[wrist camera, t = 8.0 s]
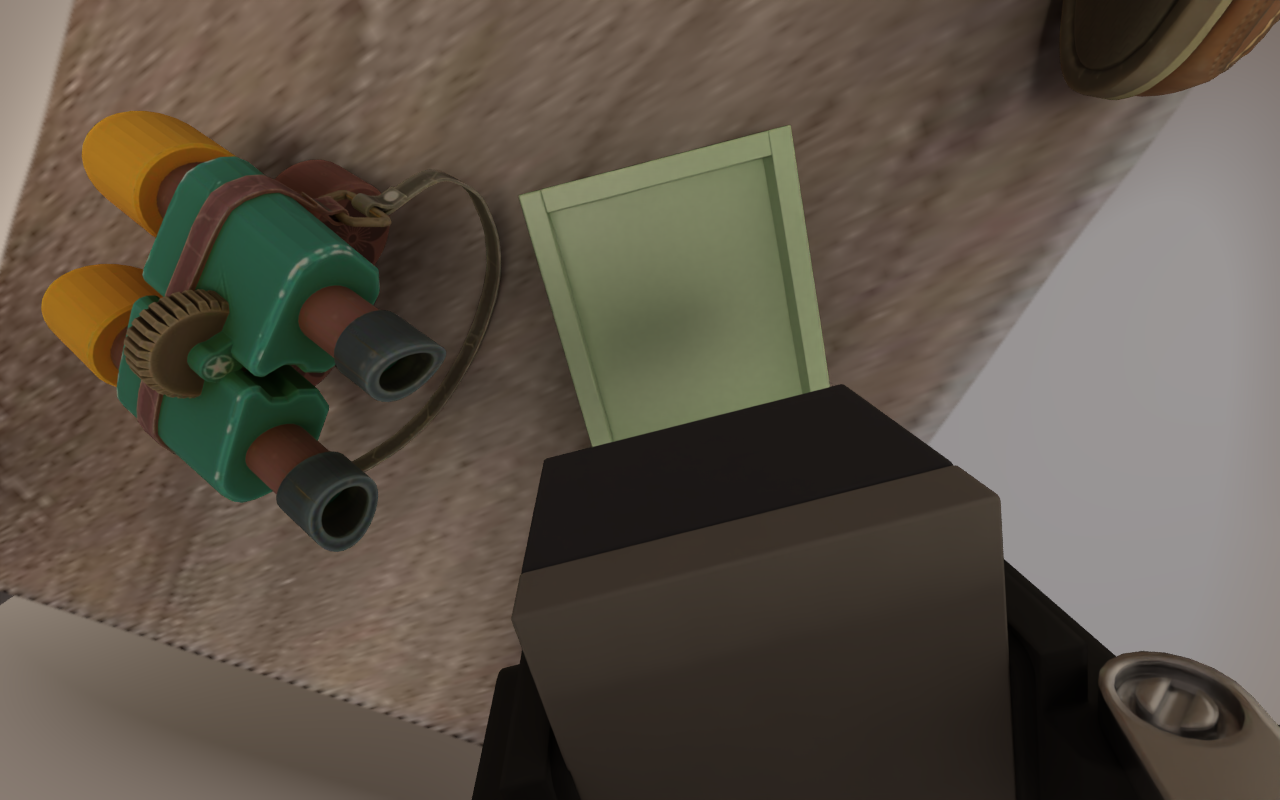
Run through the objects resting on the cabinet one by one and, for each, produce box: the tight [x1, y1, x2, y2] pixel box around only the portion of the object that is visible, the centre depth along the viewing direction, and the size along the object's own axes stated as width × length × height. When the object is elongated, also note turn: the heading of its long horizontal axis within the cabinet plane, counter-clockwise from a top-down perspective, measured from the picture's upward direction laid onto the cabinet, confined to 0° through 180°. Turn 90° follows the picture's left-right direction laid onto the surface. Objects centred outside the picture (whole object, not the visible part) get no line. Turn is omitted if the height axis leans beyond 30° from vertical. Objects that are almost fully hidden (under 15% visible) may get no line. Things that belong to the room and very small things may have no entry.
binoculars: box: [41, 111, 501, 552], centre depth 23 cm, size 14×14×15 cm
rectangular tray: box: [519, 125, 830, 447], centre depth 29 cm, size 12×14×2 cm
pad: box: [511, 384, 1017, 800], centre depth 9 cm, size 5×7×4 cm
